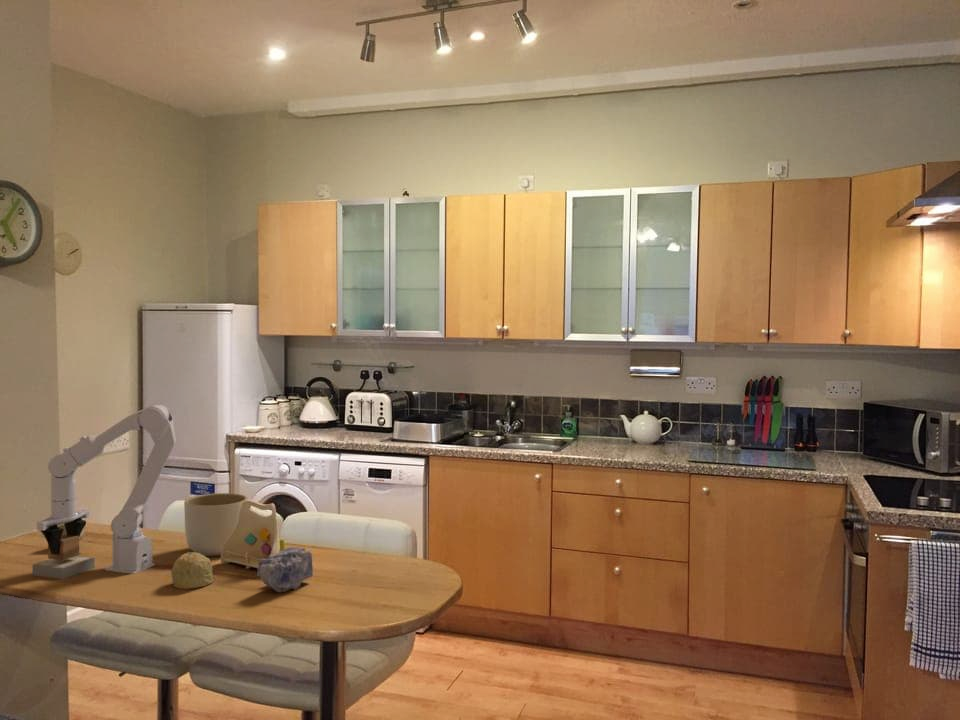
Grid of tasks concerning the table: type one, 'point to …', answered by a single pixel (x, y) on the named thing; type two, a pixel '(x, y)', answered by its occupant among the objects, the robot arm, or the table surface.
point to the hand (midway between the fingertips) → (64, 551)
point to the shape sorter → (253, 536)
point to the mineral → (286, 569)
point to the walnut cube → (66, 548)
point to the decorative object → (192, 571)
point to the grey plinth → (63, 567)
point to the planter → (211, 521)
